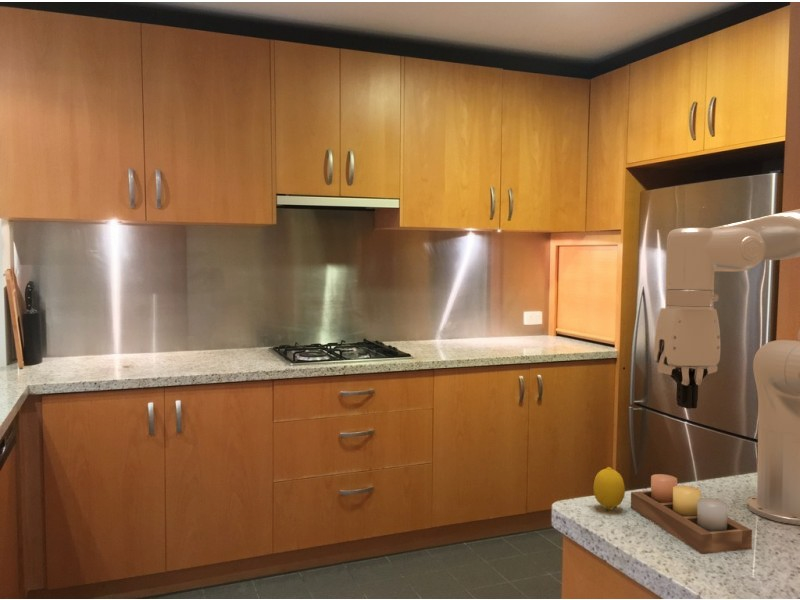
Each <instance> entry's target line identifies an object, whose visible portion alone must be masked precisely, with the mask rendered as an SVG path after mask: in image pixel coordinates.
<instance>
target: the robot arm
mask: <svg viewBox="0 0 800 600" xmlns="http://www.w3.org/2000/svg"><path fill="white" fill-rule="evenodd" d="M795 258H796V259H797V258H800V208H797V209H793V210H788V211H782V212H778V213H773V214H769V215H765V216H761V217H760V216H759V217H758V218H752V219H749V220H743V221H737V222H733V223H729V224H723V225H718V226H714V227H710V228H706V227H680V228H679V227H678V228H675V229H672V230H670V231H669V232H668V234H667V238H666V263H665V267H666V268H665V307H661V308H660V310H659V314H658V317H657V318H658V319H657V322H656V328H655V336H654V346H653V360H654V362H656V364H658V366H657V372H658V373H661V374H665V375H669V376H670V377H671V379H672V380H673V382H674V383H676V399H675V400H676V405H677V406H678V407H681V408H685V409H687V410H689V409H690V410H691V409H697V408H698V401H699V386H701V384H702V382H703V379H704V378H705V377H707V375H710V374H713V373H716V372H717V371H718V370H719V369H718V364H719V363H720V360H721V329H720V322H719V317H718V311H717V309H716V308H714V305H715V304H714V303H715V302H718V301H719V298H720V297H719V294H717V293H715V291H714V289H715V272H743V271H748V270H750V269H753V268H755V267H757V265H759V264H760V263H761V262H762V261H779V260H788V259H795ZM797 338H798V339H797V340H792V339H777V340H772V341H769V342H766V343H765V344H763V345H762V346H761V347H759V348H758V349H757V351H756V353H755V355H754V357H753V361H752V363H753V364H752V367H753V369H752V370H753V376H754V380H755V386H756V392H757V399H758V401H757V402H758V403H757V404H758V426H757V427H758V428H757V469H756V470H757V472H756V473H757V478H756V481H757V482H756V495H754V496H751V497H749V498H748V499H747V502H746V503H747V508H748V510H749V511H751V512H752V513H754V514H756V515H757V516H760V517H762V518H763V519H764V518H765V519H767V520H771V521H775V522H779V523H784V524H791V525H800V328H799V329H798V332H797Z"/></svg>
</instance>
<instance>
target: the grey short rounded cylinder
mask: <svg viewBox="0 0 800 600" xmlns="http://www.w3.org/2000/svg"><path fill="white" fill-rule="evenodd" d="M728 507H729V506H728V503H727V502H725V501H723V500H722V499H717V498H711V497H701V499H698V503H697V525H698V526H700V527H701V528H703V529H705V530H706V531H708V532H715V531H726V530H727V517H728V511H729V510H728V509H729V508H728Z"/></svg>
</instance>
